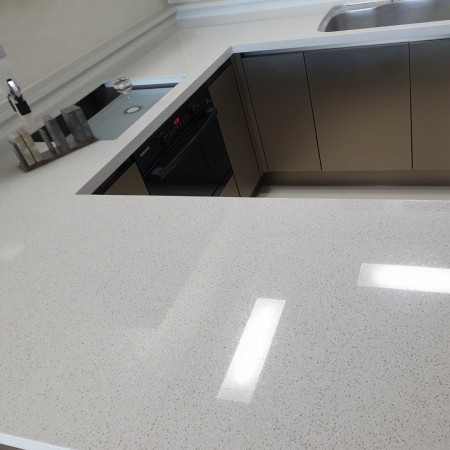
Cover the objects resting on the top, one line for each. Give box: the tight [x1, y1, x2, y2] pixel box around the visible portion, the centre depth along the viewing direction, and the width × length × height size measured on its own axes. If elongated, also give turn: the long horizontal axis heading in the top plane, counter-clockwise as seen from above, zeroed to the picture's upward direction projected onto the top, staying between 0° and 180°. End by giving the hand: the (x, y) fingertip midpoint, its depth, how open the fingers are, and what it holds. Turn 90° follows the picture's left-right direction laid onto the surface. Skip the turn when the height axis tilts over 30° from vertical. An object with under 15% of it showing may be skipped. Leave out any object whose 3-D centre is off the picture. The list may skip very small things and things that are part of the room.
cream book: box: [9, 95, 38, 130], centre depth 146 cm, size 2×6×10 cm, turn 44°
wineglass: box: [112, 76, 140, 113], centre depth 178 cm, size 7×7×12 cm
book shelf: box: [7, 104, 98, 172], centre depth 154 cm, size 24×8×12 cm, turn 134°
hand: (23, 111), depth 146 cm, fingers closed on cream book, 6 cm apart
